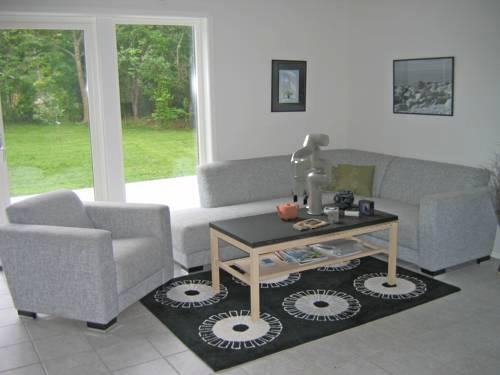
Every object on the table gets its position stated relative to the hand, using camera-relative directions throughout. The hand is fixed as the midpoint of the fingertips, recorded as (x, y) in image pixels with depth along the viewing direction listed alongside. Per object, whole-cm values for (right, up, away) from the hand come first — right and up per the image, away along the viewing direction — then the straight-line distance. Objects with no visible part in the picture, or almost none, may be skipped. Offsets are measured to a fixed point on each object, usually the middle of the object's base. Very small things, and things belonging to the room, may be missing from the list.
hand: (300, 203), depth 360 cm
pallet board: (+10, -15, +13) cm, 23 cm away
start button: (0, -17, +4) cm, 17 cm away
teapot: (-7, -13, +30) cm, 33 cm away
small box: (+52, -10, +35) cm, 63 cm away
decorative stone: (+39, -6, +54) cm, 67 cm away
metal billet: (+25, -14, +18) cm, 34 cm away
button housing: (0, -18, +4) cm, 18 cm away
